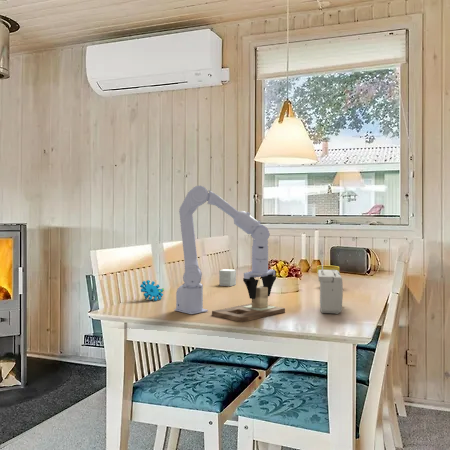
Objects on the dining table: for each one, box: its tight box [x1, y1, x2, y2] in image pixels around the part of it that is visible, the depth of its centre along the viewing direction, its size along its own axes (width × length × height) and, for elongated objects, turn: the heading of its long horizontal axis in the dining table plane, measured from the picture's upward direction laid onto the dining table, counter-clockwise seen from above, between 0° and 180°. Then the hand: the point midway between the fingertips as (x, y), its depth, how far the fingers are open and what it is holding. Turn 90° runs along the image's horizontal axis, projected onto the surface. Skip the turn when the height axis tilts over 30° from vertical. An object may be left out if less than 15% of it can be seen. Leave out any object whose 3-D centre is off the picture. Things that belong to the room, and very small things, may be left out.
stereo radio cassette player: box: [317, 251, 344, 315], centre depth 178 cm, size 21×8×20 cm, turn 170°
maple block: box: [251, 285, 269, 309], centre depth 172 cm, size 4×4×7 cm
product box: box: [218, 268, 237, 287], centre depth 231 cm, size 6×6×7 cm
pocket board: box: [211, 302, 286, 323], centre depth 168 cm, size 14×22×2 cm, turn 134°
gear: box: [139, 279, 165, 302], centre depth 194 cm, size 11×6×10 cm
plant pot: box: [316, 264, 340, 283], centre depth 226 cm, size 10×10×10 cm
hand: (259, 297), depth 172 cm, fingers open, 7 cm apart
